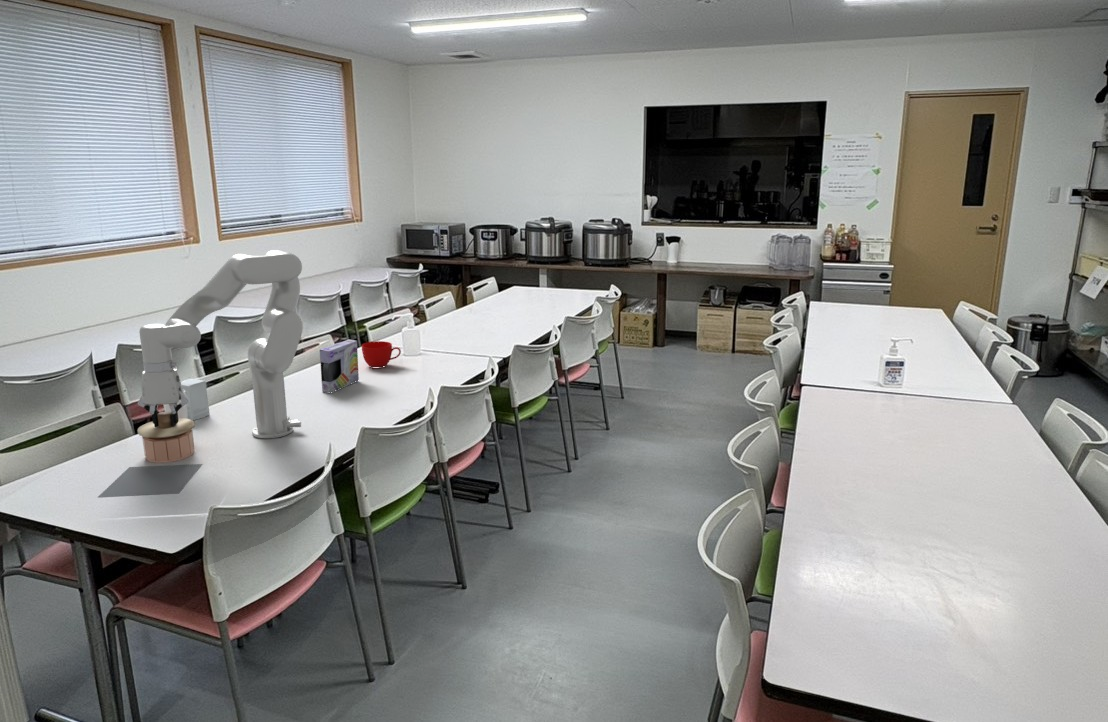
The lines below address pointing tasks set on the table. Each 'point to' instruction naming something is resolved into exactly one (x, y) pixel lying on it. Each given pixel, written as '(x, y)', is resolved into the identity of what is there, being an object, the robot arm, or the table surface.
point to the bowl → (168, 447)
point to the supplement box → (196, 398)
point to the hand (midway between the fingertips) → (166, 424)
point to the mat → (151, 480)
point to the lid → (165, 427)
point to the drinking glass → (182, 411)
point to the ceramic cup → (378, 353)
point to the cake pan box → (339, 365)
